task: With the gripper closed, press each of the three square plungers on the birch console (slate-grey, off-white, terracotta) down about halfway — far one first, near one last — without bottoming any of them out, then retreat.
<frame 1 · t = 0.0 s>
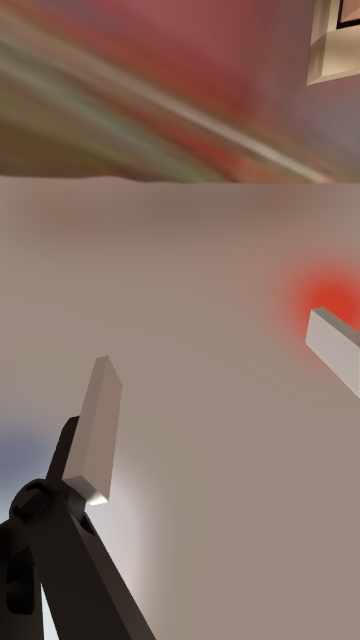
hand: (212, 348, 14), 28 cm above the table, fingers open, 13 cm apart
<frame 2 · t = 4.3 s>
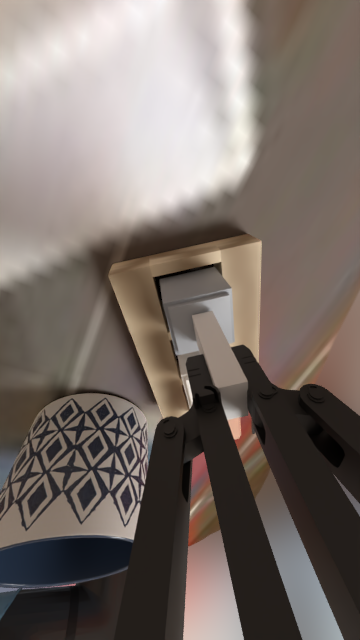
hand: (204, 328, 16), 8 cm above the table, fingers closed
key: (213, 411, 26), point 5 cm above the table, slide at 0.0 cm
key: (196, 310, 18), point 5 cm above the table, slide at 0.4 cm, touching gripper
planter: (94, 424, 33), on the table
key mid: (206, 371, 22), point 5 cm above the table, slide at 0.0 cm
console: (196, 338, 27), on the table
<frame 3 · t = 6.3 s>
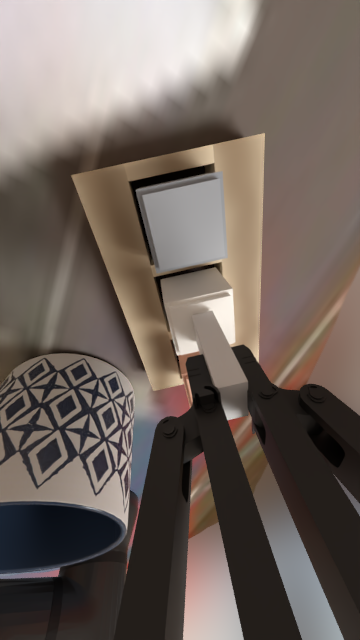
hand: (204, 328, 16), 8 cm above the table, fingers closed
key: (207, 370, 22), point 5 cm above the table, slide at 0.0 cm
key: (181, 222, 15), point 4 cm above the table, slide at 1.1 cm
planter: (75, 394, 29), on the table
key mid: (197, 311, 19), point 5 cm above the table, slide at 0.3 cm, touching gripper
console: (187, 286, 23), on the table
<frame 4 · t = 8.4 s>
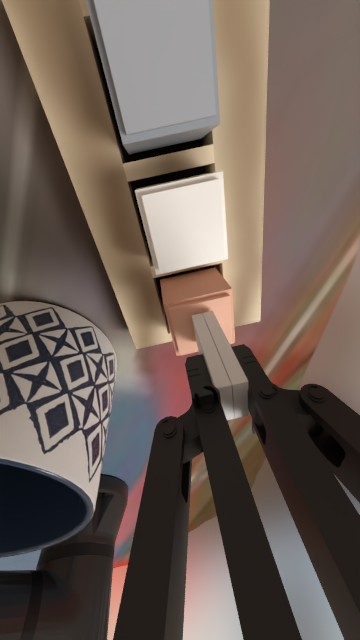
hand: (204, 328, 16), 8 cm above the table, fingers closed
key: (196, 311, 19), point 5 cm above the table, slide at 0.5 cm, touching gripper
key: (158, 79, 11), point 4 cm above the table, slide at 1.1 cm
planter: (47, 358, 25), on the table
key mid: (181, 222, 15), point 4 cm above the table, slide at 1.1 cm
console: (174, 214, 19), on the table
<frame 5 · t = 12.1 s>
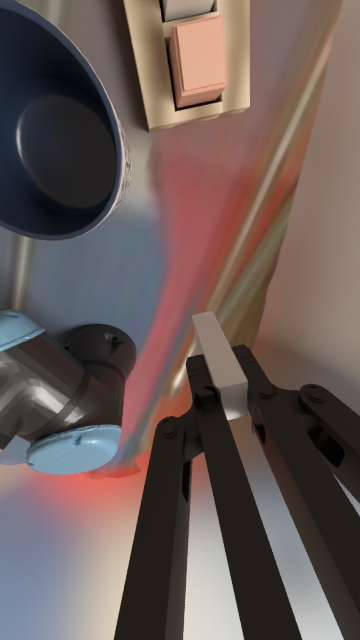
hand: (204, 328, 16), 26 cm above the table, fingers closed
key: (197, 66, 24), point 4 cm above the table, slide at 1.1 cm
planter: (74, 158, 31), on the table
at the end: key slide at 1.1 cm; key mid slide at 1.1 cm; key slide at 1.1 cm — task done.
